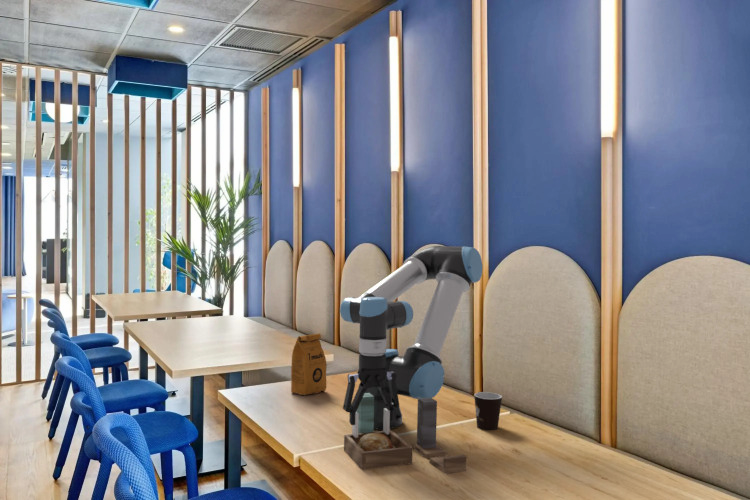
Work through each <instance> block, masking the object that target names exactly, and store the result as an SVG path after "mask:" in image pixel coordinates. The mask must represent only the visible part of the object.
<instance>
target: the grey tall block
mask: <svg viewBox="0 0 750 500" xmlns="http://www.w3.org/2000/svg"><path fill="white" fill-rule="evenodd" d="M437 412H438V401H437V400H436V399H434V398H419V399H417V422H416V428H417V429H416V443H413V446H412V448H413V449H414V450H415V451H416V452H417V453H418V454H420V455H421V456H422V457H423V458H424V459H430V458H434V457H441V456H447V455H446V454H447V452H446V451H447V450H444V449H443V448H442V447H441V446H440V445H438V444H437V415H438V413H437Z"/></svg>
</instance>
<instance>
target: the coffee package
mask: <svg viewBox="0 0 750 500" xmlns="http://www.w3.org/2000/svg"><path fill="white" fill-rule="evenodd" d="M321 338H322V335H321V333H319V332H318V333H313V334H308V335H307V334H306V335H300V336H299V335H298V336H297V338H296V341H295V344H294V346H293V349H292V354H291V368H290V369H291V370H290V371H291V373H290V375H291V379H290V381H291V387H290V388H291V389H290V392H291V393H292V394H297V393H298V394H299V395H301V396H307V395H308V394H309V395H313V394H312V393H314V394H319V393H322V392H321V391H324V392H325V391H326V390H327V358H326V356H325V352H324V349H323V348H322V343H321V340H320V339H321ZM318 392H319V393H318ZM298 394H297V395H298Z"/></svg>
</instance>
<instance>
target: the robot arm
mask: <svg viewBox="0 0 750 500" xmlns="http://www.w3.org/2000/svg"><path fill="white" fill-rule="evenodd" d="M482 275H483V262H482V256H481V253H480V252H479V251H478V249H477V248H475V247H473V246H466V245H463V246H454V245H453V246H450V245H449V246H448V245H447V246H446V245H433V246H428V247H426V248H424V249H422V250H421V249H420V250H419V251H417V252H415V253H414V254H412V255H409V257H407V258H406V259H405V260H404V261H403V264H402V265H401V266H400V267H399V268H396V270H395V271H393V272H392V273H390V274H389V275H387V276H386V277H385V278H383V279H382V280H381V281H379V282H378V283H376V284H374V285H373V286H372V287H370V288H369V289H368V290H366V291H365V292H364V293H362V294H360V295H358V296H357V297H354V296H353V297H345V298H344V299H343V300H342V302H341V304H340V307H339V313H340V317H341V319H342V320H343V321H345V322H348V323H352V324H359V339H358V341H359V342H358V351H359V354H358V371H357V372H356V373H354V374H351V373H349V374H348V375H347V388H346V391H345V396H344V401H343V407H342V409H343V410H344V411H345V412H346V413H349V419H348V420H349V421H348V422H349V424H350V425H351V426H352V427H351V428H352V429H351V432H352V433H351V434H352V435H353V436H354V437H355V438H358V422H359V414H358V413H357V412H356V411H357V409H358V407H359V404H360V402H361V400H362V398H363V396H364V393H370V394H372V395H373V396H374V430H380V431H383V432H385V433H386V434H389V430H392V429H396V428H398V427H400V426H402V425H403V413H402V411H401V407H400V400H399V395H400V396H403V397H409V398H412V399H415V400H418V399H419V398H432V399H434V398H435V396H437V395H438V393H439V392H440V391H441V389H442V387H443V384H444V381H445V377H444V376H445V369H444V366H443V365H442V363H443V360H442V358H441V356H440V354H441V352H442V350H443V346H444V343H446V338H447V335H448V332H449V330H450V328H451V325H452V323H453V319H454V316H455V315H456V314H455V313H456V312H457V309H458V306H459V304H460V300H461V298H462V295H463V294H464V293H466V292H468V291H469V290H470V287H471V285H472V283H473V284H475V283H478V282H480V280H481V278H482ZM428 280H429V281H430V280H435V281H436V282H437V284H436V288H435V290H434V293H433V295H432V297H431V300H430V303H429V306H428V308H427V310H426V313H425V315H424V318H423V319H422V323H421V324H420V328H419V331H418V332H417V336H416V337H415V340H414V344H413V345H410V346H408V347H407V348H406V350H405V353H404V355H403V356H402V355H401V356H400V355H399V354H400V352H399V350H398V349H396V348H387V331H388V330H391V329H398V328H403V327H406V326H408V325H410V323H411V322H412V321H413V319H414V310H413V308H412V305H411V304H410V303H409V302H407V301H404V300H397V299H398V298H400V296H402V295H403V294H405V293H406V292H407V291H409V290H410V289H412V287H414V286H415V285H418V284H419V285H420V284H423V283H424V282H426V281H428ZM358 380H359V385H358V389H357V390H356V393H355V394H354V392H355V387H356V383H357V381H358Z"/></svg>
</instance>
